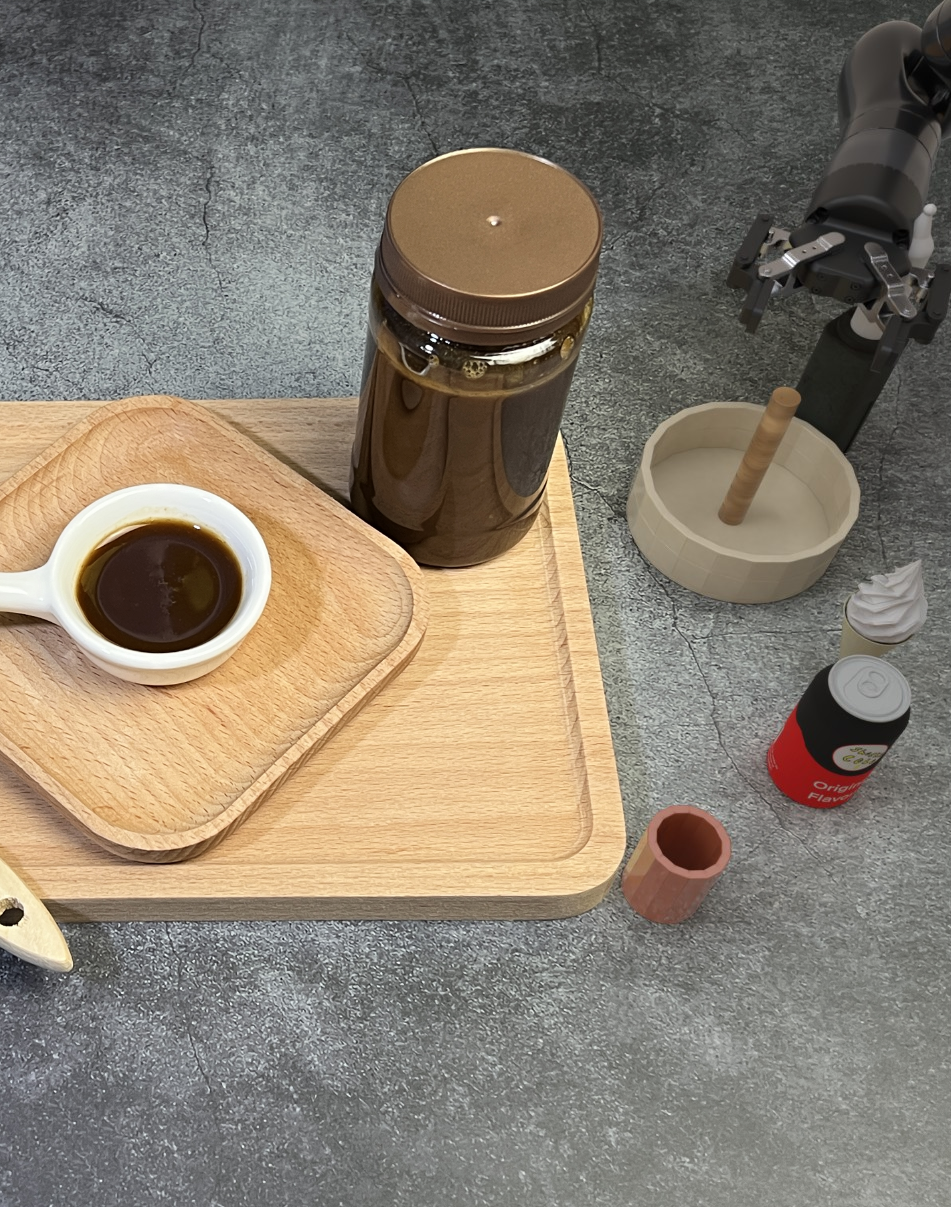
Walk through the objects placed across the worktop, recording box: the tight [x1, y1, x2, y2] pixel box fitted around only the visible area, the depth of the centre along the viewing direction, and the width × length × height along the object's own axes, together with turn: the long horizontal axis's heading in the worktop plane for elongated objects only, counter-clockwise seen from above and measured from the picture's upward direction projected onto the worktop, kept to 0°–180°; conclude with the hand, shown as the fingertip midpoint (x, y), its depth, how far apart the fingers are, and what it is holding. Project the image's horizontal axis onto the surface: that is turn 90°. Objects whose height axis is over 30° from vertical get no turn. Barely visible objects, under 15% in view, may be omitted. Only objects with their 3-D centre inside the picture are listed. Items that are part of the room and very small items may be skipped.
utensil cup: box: [621, 804, 732, 925], centre depth 95 cm, size 5×5×8 cm
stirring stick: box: [718, 386, 801, 525], centre depth 111 cm, size 2×2×14 cm
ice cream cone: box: [837, 558, 929, 662], centre depth 102 cm, size 5×5×15 cm
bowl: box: [625, 401, 861, 605], centre depth 114 cm, size 16×16×6 cm
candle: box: [794, 203, 937, 455], centre depth 111 cm, size 5×5×25 cm
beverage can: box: [766, 655, 912, 809], centre depth 98 cm, size 6×6×12 cm
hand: (815, 343), depth 98 cm, fingers open, 8 cm apart
